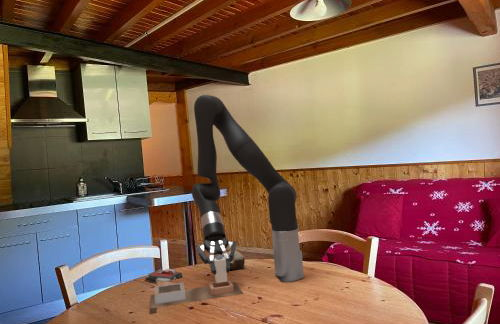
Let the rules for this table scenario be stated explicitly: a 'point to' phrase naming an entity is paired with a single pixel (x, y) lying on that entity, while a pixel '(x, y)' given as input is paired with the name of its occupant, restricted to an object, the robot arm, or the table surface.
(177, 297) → the frame
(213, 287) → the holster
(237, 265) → the skull
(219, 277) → the plug
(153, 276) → the walkie-talkie
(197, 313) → the table surface
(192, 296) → the panel
